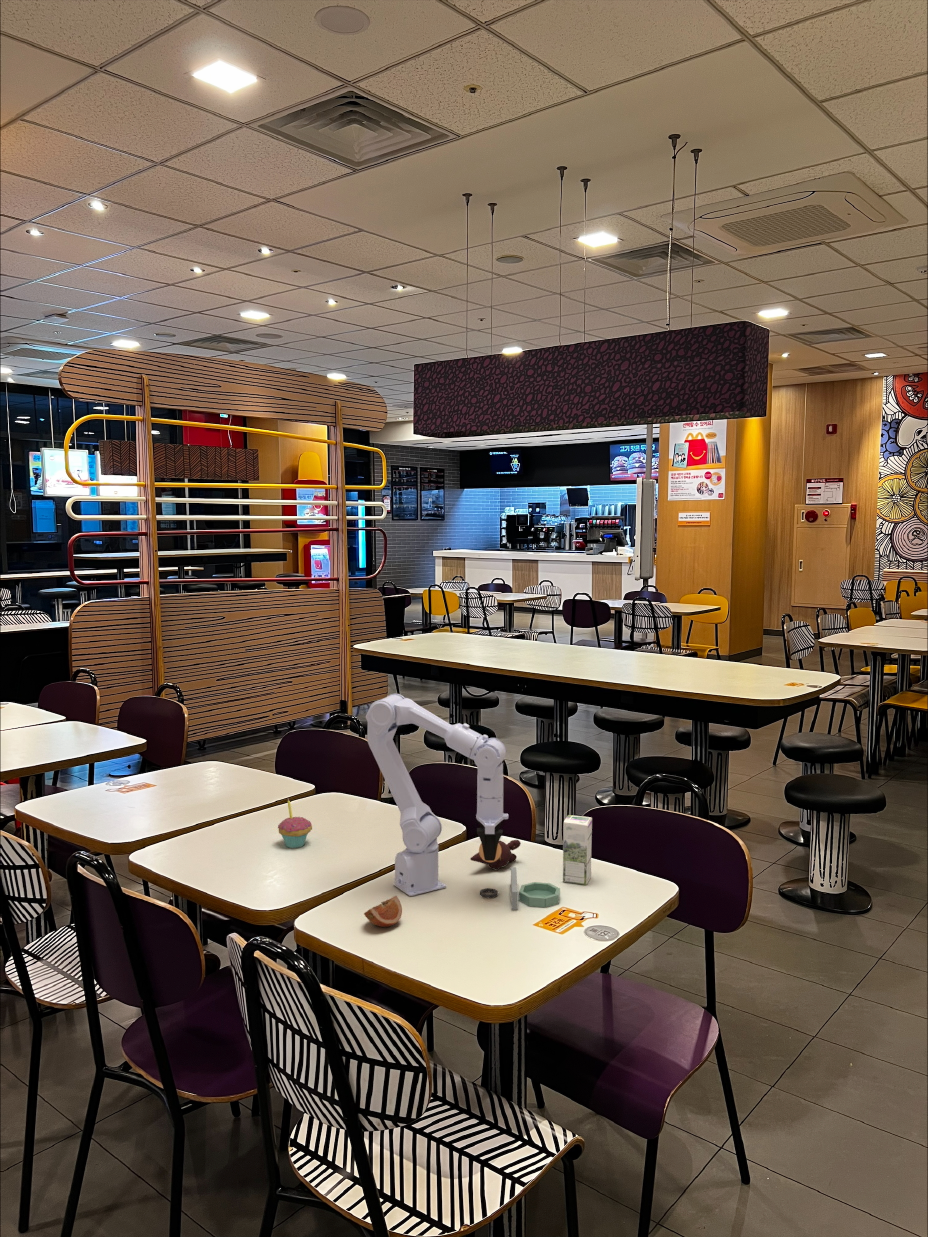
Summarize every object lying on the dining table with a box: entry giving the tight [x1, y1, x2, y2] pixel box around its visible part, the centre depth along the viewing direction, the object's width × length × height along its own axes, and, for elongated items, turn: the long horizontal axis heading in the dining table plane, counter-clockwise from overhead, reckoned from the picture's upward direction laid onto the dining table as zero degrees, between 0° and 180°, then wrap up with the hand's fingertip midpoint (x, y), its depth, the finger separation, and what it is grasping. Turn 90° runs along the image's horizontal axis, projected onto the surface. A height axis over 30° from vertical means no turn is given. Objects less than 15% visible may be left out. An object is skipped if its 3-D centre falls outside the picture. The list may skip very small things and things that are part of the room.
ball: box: [478, 842, 501, 862], centre depth 194 cm, size 5×5×5 cm
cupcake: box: [277, 798, 313, 849], centre depth 226 cm, size 9×8×12 cm
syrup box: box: [562, 814, 593, 886], centre depth 203 cm, size 6×6×14 cm
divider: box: [510, 866, 519, 911], centre depth 194 cm, size 14×1×4 cm, turn 178°
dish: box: [518, 881, 561, 909], centre depth 193 cm, size 9×9×2 cm
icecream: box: [469, 839, 521, 871], centre depth 211 cm, size 7×7×15 cm
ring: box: [479, 887, 499, 899], centre depth 195 cm, size 4×4×1 cm
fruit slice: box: [363, 895, 403, 928], centre depth 180 cm, size 8×7×5 cm
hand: (489, 855), depth 194 cm, fingers closed on ball, 5 cm apart
